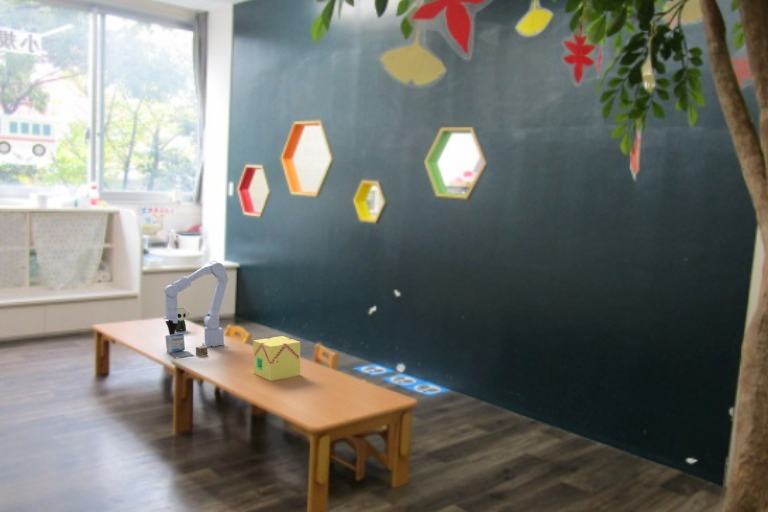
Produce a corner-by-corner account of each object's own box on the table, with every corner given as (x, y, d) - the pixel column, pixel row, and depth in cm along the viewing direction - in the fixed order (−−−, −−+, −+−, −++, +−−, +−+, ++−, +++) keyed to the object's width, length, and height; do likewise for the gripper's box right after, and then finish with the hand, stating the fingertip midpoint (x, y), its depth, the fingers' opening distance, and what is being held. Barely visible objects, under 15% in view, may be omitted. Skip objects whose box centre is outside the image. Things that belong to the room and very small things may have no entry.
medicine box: (171, 353, 320) (170, 335, 320) (166, 352, 323) (165, 335, 322) (185, 350, 326) (183, 333, 326) (179, 349, 329) (178, 332, 329)
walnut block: (203, 353, 321) (202, 345, 321) (207, 355, 319) (207, 347, 318) (195, 355, 318) (195, 347, 318) (200, 356, 316) (200, 348, 315)
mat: (187, 351, 325) (187, 350, 325) (193, 356, 316) (193, 355, 316) (169, 353, 320) (169, 353, 320) (175, 358, 312) (175, 357, 312)
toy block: (253, 373, 288) (253, 340, 286) (282, 367, 297) (282, 335, 296) (270, 381, 276) (270, 346, 275) (300, 375, 286) (300, 341, 285)
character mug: (173, 332, 368) (172, 310, 367) (169, 330, 374) (168, 308, 372) (191, 330, 375) (191, 308, 373) (187, 328, 380) (187, 306, 379)
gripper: (159, 307, 332) (160, 332, 333) (167, 311, 320) (167, 338, 321) (173, 305, 336) (174, 331, 337) (181, 310, 324) (182, 336, 325)
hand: (172, 334), depth 329 cm, fingers closed
